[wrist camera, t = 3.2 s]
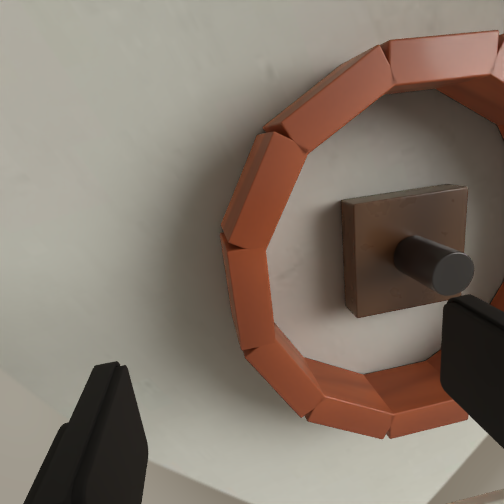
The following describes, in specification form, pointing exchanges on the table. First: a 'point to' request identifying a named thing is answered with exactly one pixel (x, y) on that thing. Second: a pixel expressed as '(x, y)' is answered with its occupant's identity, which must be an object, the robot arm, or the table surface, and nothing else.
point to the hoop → (277, 194)
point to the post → (405, 249)
